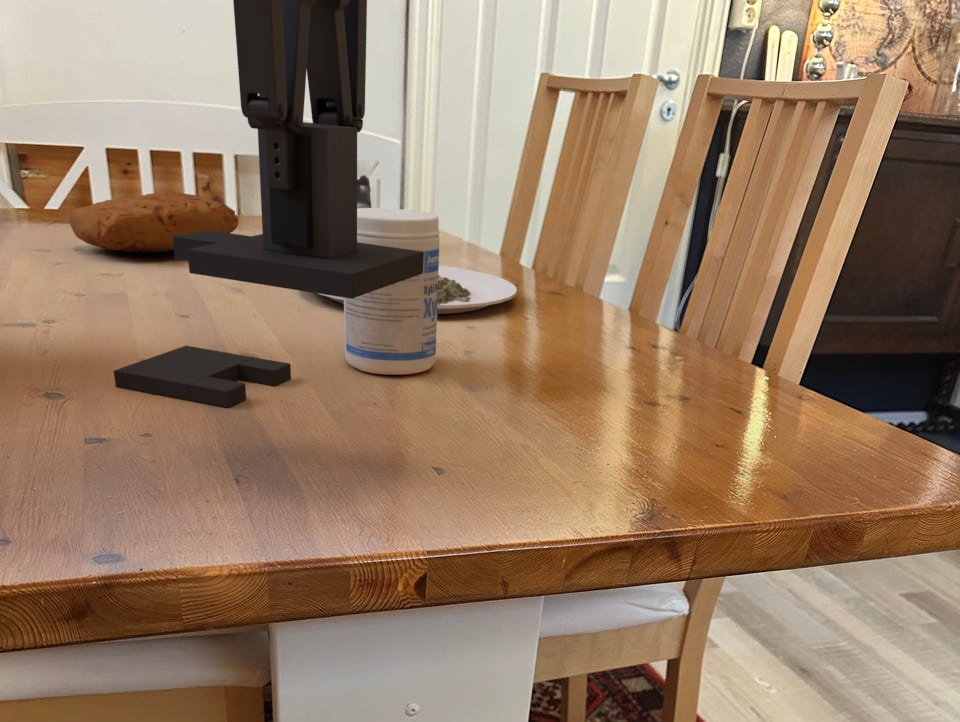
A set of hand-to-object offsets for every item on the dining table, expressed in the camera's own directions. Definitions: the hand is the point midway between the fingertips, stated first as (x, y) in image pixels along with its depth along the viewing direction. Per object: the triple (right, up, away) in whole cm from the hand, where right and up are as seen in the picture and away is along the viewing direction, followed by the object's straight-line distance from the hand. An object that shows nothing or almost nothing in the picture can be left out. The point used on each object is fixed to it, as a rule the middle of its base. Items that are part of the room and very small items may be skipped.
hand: (310, 240), depth 63 cm
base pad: (-15, -3, +26) cm, 29 cm away
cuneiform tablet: (-39, +33, +82) cm, 97 cm away
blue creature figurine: (-14, +40, +97) cm, 106 cm away
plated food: (+1, +21, +66) cm, 69 cm away
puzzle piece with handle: (-2, -1, +2) cm, 3 cm away
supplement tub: (+2, +2, +35) cm, 35 cm away
